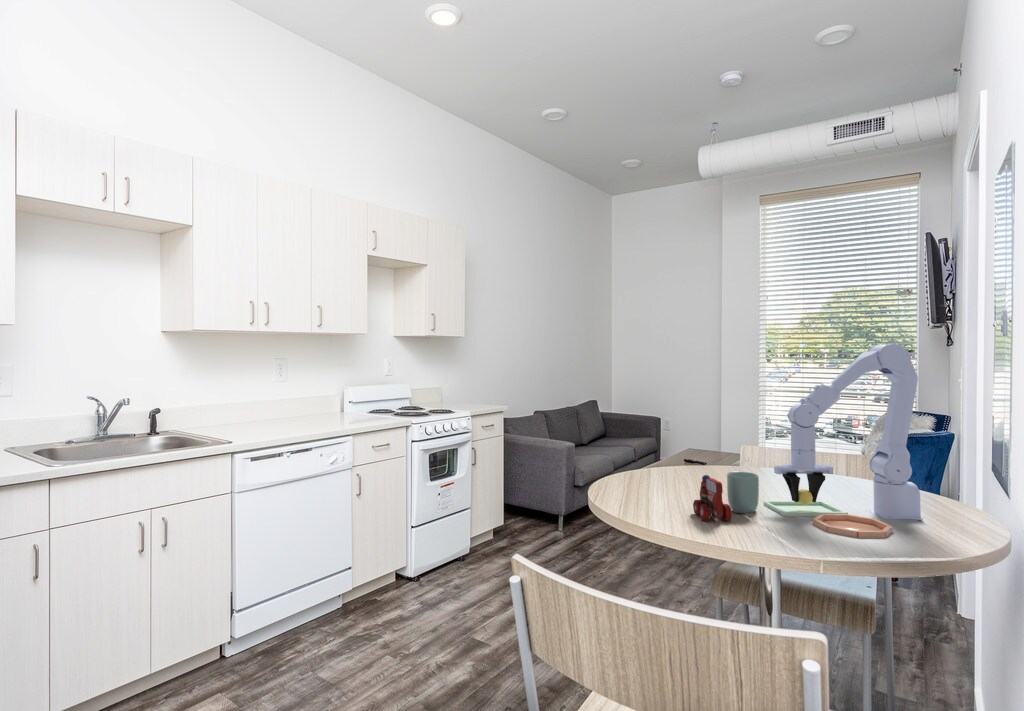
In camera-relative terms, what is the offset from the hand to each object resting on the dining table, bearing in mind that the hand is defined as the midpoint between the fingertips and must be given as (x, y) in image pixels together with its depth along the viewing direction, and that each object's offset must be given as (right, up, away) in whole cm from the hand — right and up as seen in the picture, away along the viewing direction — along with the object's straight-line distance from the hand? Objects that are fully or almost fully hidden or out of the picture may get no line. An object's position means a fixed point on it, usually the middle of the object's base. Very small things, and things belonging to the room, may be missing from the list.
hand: (803, 501), depth 146 cm
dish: (+3, -3, -16) cm, 17 cm away
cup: (-16, -3, 0) cm, 16 cm away
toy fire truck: (-26, -3, -5) cm, 27 cm away
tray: (0, -3, 0) cm, 3 cm away
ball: (0, -1, 0) cm, 1 cm away
